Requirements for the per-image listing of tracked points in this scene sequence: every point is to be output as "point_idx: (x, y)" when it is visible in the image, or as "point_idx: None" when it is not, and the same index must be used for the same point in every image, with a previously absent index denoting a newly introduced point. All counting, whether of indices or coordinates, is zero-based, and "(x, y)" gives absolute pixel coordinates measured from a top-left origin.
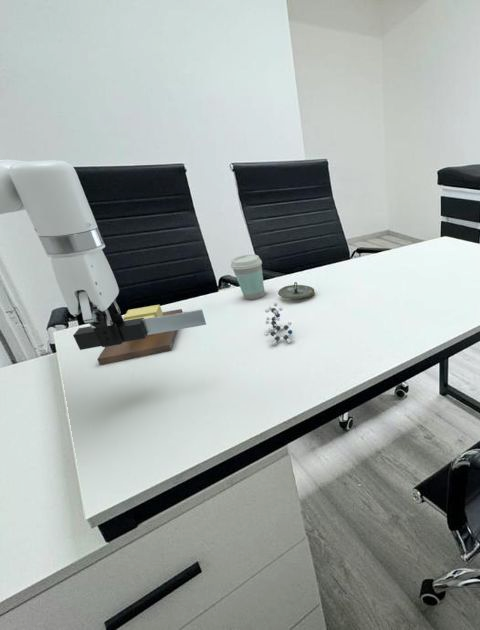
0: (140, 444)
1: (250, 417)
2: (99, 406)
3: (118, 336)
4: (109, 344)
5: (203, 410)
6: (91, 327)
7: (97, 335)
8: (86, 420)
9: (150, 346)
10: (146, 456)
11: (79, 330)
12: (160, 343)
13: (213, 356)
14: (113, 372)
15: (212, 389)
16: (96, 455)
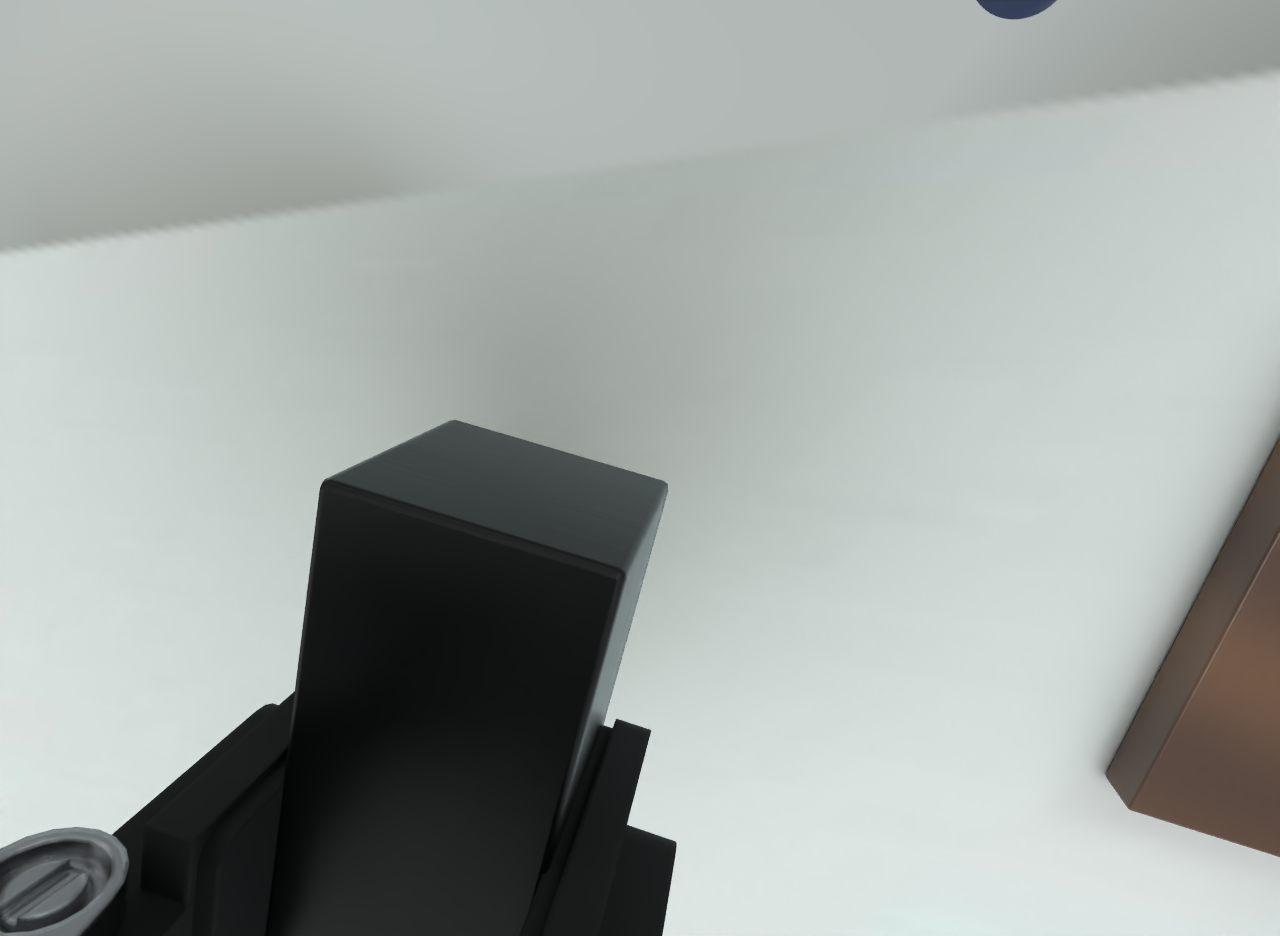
0: (116, 470)
1: None
2: (607, 305)
3: None
4: None
5: None
6: (2, 848)
7: (257, 736)
8: (488, 237)
9: (1233, 703)
10: (25, 481)
11: (482, 578)
12: (1220, 770)
13: (760, 928)
14: (1074, 399)
15: None
16: (132, 292)
